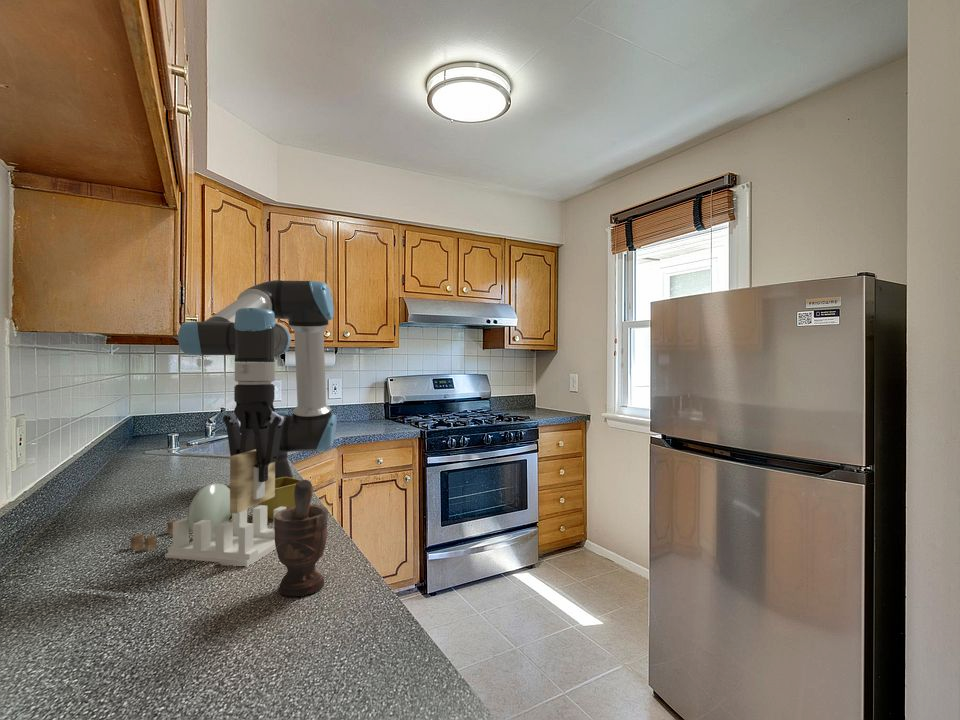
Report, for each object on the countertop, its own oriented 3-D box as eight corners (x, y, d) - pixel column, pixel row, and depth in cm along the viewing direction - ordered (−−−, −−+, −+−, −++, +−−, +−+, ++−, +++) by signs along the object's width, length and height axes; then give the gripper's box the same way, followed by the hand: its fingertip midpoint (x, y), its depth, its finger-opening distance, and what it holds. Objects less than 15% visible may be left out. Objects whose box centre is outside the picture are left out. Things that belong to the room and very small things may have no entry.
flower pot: (306, 516, 120) (307, 480, 120) (275, 526, 113) (275, 488, 113) (285, 510, 125) (285, 476, 125) (254, 519, 117) (254, 483, 117)
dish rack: (220, 533, 108) (220, 501, 108) (292, 538, 104) (292, 506, 104) (165, 560, 93) (165, 523, 93) (246, 567, 90) (247, 529, 90)
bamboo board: (268, 496, 104) (268, 445, 104) (274, 496, 103) (275, 446, 103) (229, 512, 92) (230, 456, 92) (237, 513, 92) (237, 456, 92)
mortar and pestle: (344, 595, 79) (345, 475, 79) (293, 613, 73) (293, 484, 73) (314, 572, 87) (315, 464, 88) (266, 588, 81) (266, 471, 82)
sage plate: (226, 527, 105) (227, 477, 105) (232, 527, 105) (232, 478, 105) (187, 546, 94) (188, 491, 94) (193, 546, 94) (194, 491, 94)
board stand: (174, 533, 107) (174, 519, 107) (190, 534, 107) (190, 521, 107) (130, 552, 97) (130, 537, 97) (148, 553, 96) (148, 538, 96)
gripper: (210, 383, 96) (209, 500, 95) (275, 384, 93) (275, 504, 93) (235, 382, 103) (235, 490, 103) (297, 382, 100) (296, 494, 100)
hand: (254, 497), depth 98 cm, fingers closed on bamboo board, 2 cm apart
